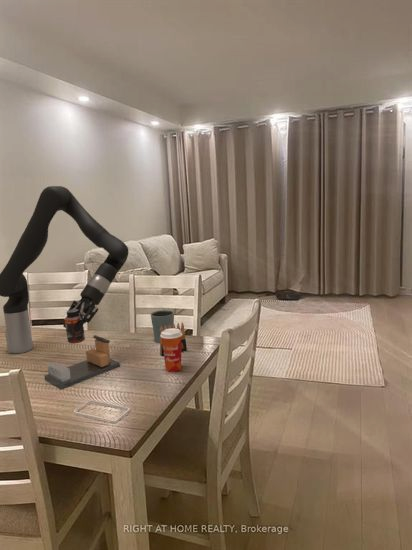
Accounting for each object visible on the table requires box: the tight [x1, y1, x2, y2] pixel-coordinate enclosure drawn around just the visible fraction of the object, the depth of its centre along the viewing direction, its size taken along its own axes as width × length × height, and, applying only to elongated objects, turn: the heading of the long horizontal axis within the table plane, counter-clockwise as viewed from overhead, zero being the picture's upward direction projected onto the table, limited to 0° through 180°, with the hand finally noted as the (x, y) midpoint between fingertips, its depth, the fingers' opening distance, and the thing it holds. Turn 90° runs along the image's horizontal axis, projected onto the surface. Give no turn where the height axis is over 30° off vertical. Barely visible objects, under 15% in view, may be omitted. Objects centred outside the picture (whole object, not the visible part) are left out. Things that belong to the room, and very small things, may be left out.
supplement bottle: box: [64, 309, 86, 344], centre depth 141 cm, size 6×6×11 cm
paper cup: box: [160, 327, 182, 373], centre depth 142 cm, size 8×8×14 cm
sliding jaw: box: [85, 335, 111, 367], centre depth 147 cm, size 5×10×9 cm, turn 47°
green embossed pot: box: [150, 309, 175, 344], centre depth 173 cm, size 10×10×12 cm
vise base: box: [44, 358, 121, 390], centre depth 143 cm, size 23×12×6 cm, turn 137°
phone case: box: [73, 399, 131, 424], centre depth 115 cm, size 7×1×15 cm
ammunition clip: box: [159, 321, 188, 358], centre depth 157 cm, size 11×2×12 cm, turn 116°
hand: (70, 329), depth 140 cm, fingers closed on supplement bottle, 6 cm apart
